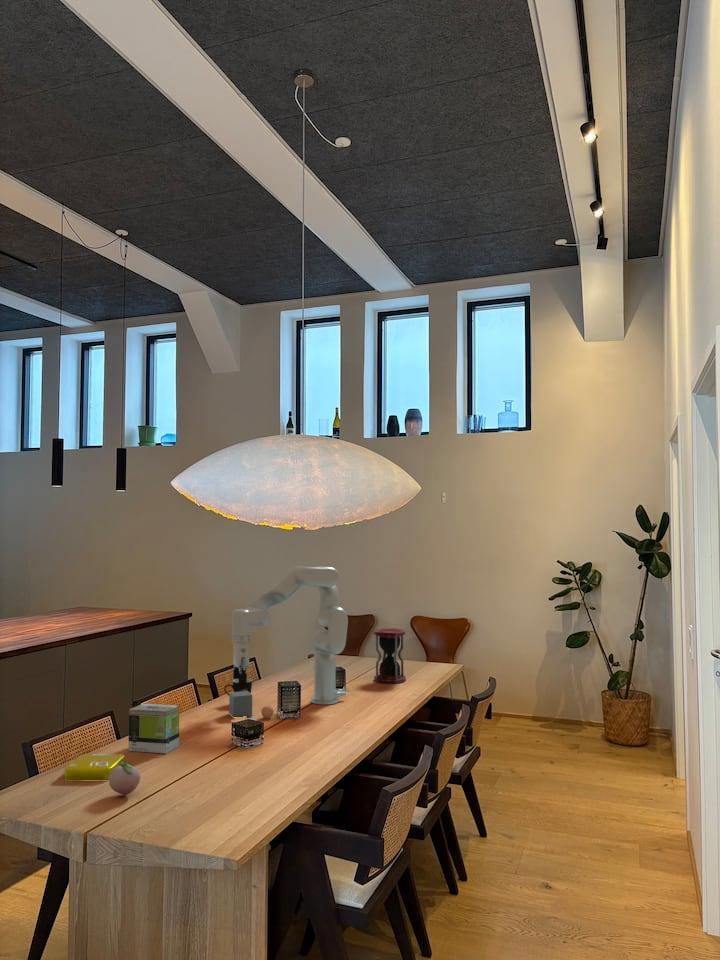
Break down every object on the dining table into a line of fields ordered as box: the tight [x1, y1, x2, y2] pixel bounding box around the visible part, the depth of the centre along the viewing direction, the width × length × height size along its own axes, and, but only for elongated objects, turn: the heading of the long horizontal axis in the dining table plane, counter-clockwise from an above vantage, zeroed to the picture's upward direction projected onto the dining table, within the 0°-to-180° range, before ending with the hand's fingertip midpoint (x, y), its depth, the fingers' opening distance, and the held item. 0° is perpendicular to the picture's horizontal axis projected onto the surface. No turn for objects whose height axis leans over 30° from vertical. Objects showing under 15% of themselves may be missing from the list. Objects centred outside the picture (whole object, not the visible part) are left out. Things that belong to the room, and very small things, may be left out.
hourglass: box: [373, 628, 407, 685], centre depth 379 cm, size 16×16×25 cm
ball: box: [260, 705, 274, 719], centre depth 307 cm, size 5×5×5 cm
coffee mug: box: [223, 678, 253, 696], centre depth 332 cm, size 12×9×10 cm
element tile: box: [64, 753, 125, 780], centre depth 241 cm, size 15×15×5 cm
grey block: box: [228, 691, 253, 718], centre depth 312 cm, size 8×8×9 cm
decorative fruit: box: [108, 760, 141, 796], centre depth 221 cm, size 9×8×10 cm
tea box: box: [128, 703, 180, 754], centre depth 267 cm, size 15×10×15 cm
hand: (239, 680), depth 312 cm, fingers open, 9 cm apart
